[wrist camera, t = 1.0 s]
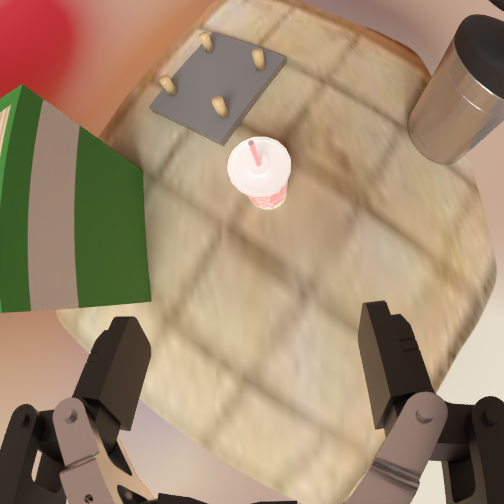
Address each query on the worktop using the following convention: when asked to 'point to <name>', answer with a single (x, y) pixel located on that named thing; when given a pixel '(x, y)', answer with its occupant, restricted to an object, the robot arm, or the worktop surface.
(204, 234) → the worktop surface
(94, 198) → the hardback book
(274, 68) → the chassis
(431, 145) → the robot arm
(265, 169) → the beverage cup
